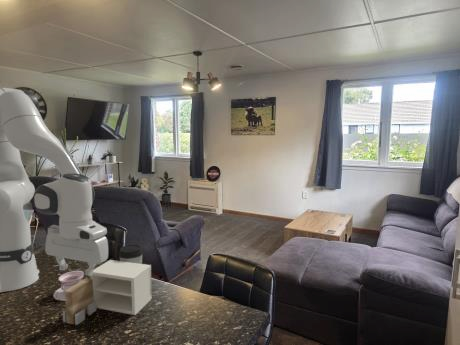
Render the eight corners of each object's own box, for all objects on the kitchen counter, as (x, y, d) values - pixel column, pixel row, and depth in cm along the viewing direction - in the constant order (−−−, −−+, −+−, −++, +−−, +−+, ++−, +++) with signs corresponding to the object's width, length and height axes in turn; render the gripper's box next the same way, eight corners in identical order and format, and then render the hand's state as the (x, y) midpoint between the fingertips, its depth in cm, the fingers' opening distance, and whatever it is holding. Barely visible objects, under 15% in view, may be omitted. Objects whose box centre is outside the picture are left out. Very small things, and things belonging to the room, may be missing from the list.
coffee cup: (136, 294, 106) (135, 253, 104) (115, 291, 107) (113, 251, 106) (147, 283, 114) (146, 245, 112) (127, 280, 115) (126, 243, 114)
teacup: (70, 282, 114) (69, 267, 113) (98, 286, 111) (97, 270, 111) (44, 299, 102) (43, 282, 102) (75, 303, 100) (74, 285, 99)
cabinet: (63, 321, 89) (60, 283, 88) (105, 290, 108) (104, 258, 106) (116, 333, 85) (115, 292, 83) (151, 298, 103) (150, 265, 101)
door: (64, 322, 89) (62, 290, 88) (85, 307, 97) (83, 277, 96) (73, 324, 88) (71, 292, 87) (93, 308, 97) (92, 279, 95)
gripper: (39, 226, 89) (40, 270, 91) (97, 235, 84) (97, 282, 86) (56, 221, 95) (57, 263, 97) (111, 229, 90) (111, 273, 92)
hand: (76, 272), depth 91 cm, fingers open, 8 cm apart
